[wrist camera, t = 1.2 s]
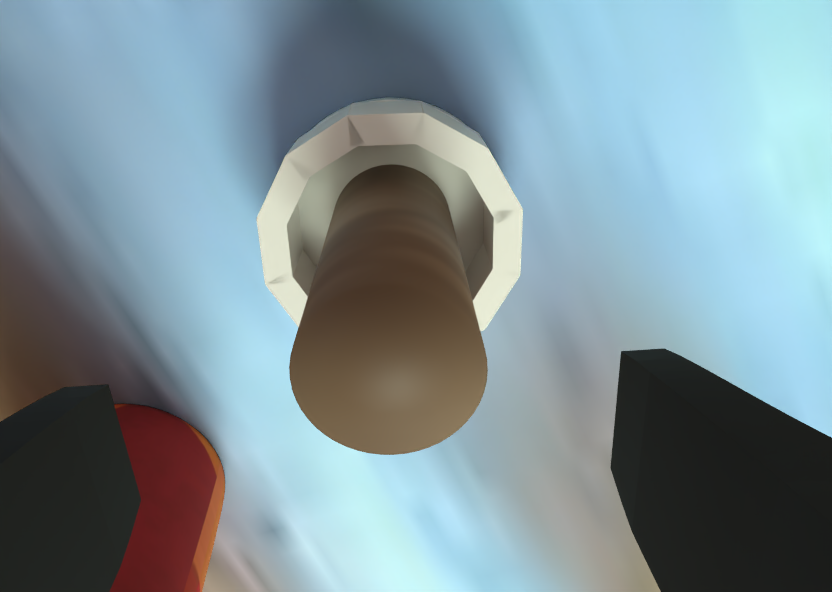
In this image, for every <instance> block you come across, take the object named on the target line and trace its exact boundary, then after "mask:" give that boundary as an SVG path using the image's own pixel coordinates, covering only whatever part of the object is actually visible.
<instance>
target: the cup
mask: <svg viewBox="0 0 832 592" xmlns="http://www.w3.org/2000/svg"><path fill="white" fill-rule="evenodd" d="M388 164H394V165H403V166H407V167H411V168H414V169H416V170H418V171H420V172H422V173H424V174H425V175H427V176H428V177H429V178H430V179H432V180H433V181H434V182H435V183H436V184H437V185H438V187H439V188H440V190H441V191H442V192H443V194H444V196H445V198H446V200H447V203H448V206H449V210H450V214H451V218H452V222H453V226H454V230H455V234H456V238H457V242H458V245H459V249H460V253H461V257H462V261H463V265H464V269H465V273H466V277H467V281H468V285H469V289H470V293H471V297H472V301H473V305H474V309H475V312H476V316H477V320H478V324H479V328H480V332H481V331H483V330H485V329H486V327H487V326H488V324H489V323H490V321H491V320H492V318H493V316H494V315H495V313H496V312H497V310H498V309H499V307H500V306H501V304H502V303H503V301H504V299H505V298H506V296H507V295H508V293H509V292H510V290H511V289H512V287H513V286H514V284H515V283H516V281H517V279H518V278H519V276H520V270H521V245H522V220H523V209H522V207H521V205H520V203H519V201H518V200H517V198H516V196H515V194H514V193H513V191H512V189H511V187H510V186H509V184H508V182H507V180H506V179H505V177H504V175H503V173H502V172H501V170H500V168H499V166H498V164H497V163H496V161H495V159H494V157H493V156H492V154H491V152H490V150H489V149H488V147H487V145H486V144H485V142H484V141H483V139H482V137H481V136H480V134H479V133H478V132H476V131H474V130H473V129H471V128H469V127H468V126H466V125H465V124H464V123H463V122H462V121H461V120H459V119H458V118H456V117H455V116H453V115H451V114H450V113H448V112H447V111H444V110H442V109H440V108H438V107H436V106H434V105H431V104H428V103H425V102H422V101H420V100H419V101H418V100H412V99H406V98H391V97H386V98H376V99H369V100H365V101H361V102H357V103H352V104H350V105H348V106H346V107H344V108H341V109H339V110H338V111H336V112H334V113H332V114H330V115H329V116H327V117H326V118H325V119H323V120H322V121H321V122H319V123H318V124H317V125H315V126H314V127H313V128H312V129H311V130H310V131H309V132H307V133H306V134H304V135H303V136H301V137H300V138H298V139H297V140H296V142H295V143H294V144H293V146H292V147H291V149H290V150H289V151H288V153H287V154H286V156H285V158H284V160H283V162H282V164H281V166H280V168H279V171H278V173H277V175H276V177H275V179H274V182H273V184H272V186H271V188H270V190H269V192H268V195H267V197H266V199H265V201H264V203H263V205H262V208H261V210H260V212H259V214H258V216H257V226H258V234H259V242H260V249H261V257H262V264H263V272H264V279H265V285H266V286H267V287H268V289H269V290H270V291H271V292H272V294H273V295H274V296H275V298H276V299H277V300H278V301H279V303H280V304H281V305H282V307H283V308H284V309H285V310H286V312H287V313H288V314H289V315H290V317H291V318H292V319H293V321H294V322H295V323H296V324H297V326H298V327H299V325H300V321H301V318H302V315H303V311H304V308H305V305H306V301H307V298H308V295H309V291H310V288H311V285H312V282H313V278H314V275H315V272H316V268H317V265H318V262H319V258H320V255H321V252H322V248H323V245H324V242H325V238H326V235H327V232H328V228H329V225H330V222H331V218H332V215H333V212H334V208H335V205H336V202H337V200H338V197H339V195H340V193H341V192H342V190H343V189H344V187H345V186H346V185H347V184H348V183H349V182H350V181H351V180H352V179H353V178H354V177H355V176H357V175H358V174H360V173H361V172H363V171H365V170H367V169H370V168H372V167H376V166H380V165H388Z"/></svg>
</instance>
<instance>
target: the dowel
mask: <svg viewBox="0 0 832 592" xmlns="http://www.w3.org/2000/svg"><path fill="white" fill-rule="evenodd" d="M289 368H290V381H291V386H292V390H293V393H294V396H295V398H296V401H297V403H298V404H299V406H300V408H301V410H302V411H303V413H304V414H305V415H306V417H307V418H308V419H309V421H310V422H311V423H312V424H313V425H314V426H315V427H316V428H317V429H319V430H320V431H321V432H322V433H323V434H325V435H326V436H328V437H329V438H331V439H332V440H334V441H336V442H338V443H340V444H342V445H344V446H346V447H349V448H352V449H355V450H358V451H362V452H367V453H373V454H384V455H394V454H405V453H410V452H415V451H419V450H422V449H425V448H428V447H431V446H433V445H435V444H437V443H440V442H441V441H443V440H445V439H446V438H448V437H450V436H451V435H452V434H454V433H455V432H456V431H457V430H459V429H460V428H461V427H462V426H463V425H464V424H465V423H466V422H467V421H468V419H469V418H470V417H471V416H472V414H473V413H474V412H475V410H476V408H477V406H478V405H479V403H480V401H481V398H482V396H483V393H484V390H485V386H486V382H487V371H488V370H487V357H486V353H485V348H484V344H483V340H482V336H481V332H480V328H479V324H478V320H477V316H476V312H475V309H474V305H473V301H472V297H471V293H470V289H469V285H468V281H467V277H466V273H465V269H464V265H463V261H462V257H461V253H460V249H459V245H458V242H457V238H456V234H455V230H454V226H453V222H452V218H451V214H450V210H449V206H448V203H447V200H446V198H445V196H444V194H443V192H442V191H441V190H440V188H439V187H438V185H437V184H436V183H435V182H434V181H433V180H432V179H430V178H429V177H428V176H427V175H425V174H424V173H422V172H420V171H418V170H416V169H414V168H411V167H407V166H403V165H394V164H388V165H380V166H376V167H372V168H370V169H367V170H365V171H363V172H361V173H360V174H358V175H357V176H355V177H354V178H353V179H352V180H351V181H350V182H349V183H348V184H347V185H346V186H345V187H344V189H343V190H342V192H341V193H340V195H339V197H338V200H337V202H336V205H335V208H334V212H333V215H332V218H331V222H330V225H329V228H328V232H327V235H326V238H325V242H324V245H323V248H322V252H321V255H320V258H319V262H318V265H317V268H316V272H315V275H314V278H313V282H312V285H311V288H310V291H309V295H308V298H307V301H306V305H305V308H304V311H303V315H302V318H301V321H300V325H299V328H298V331H297V335H296V338H295V341H294V345H293V348H292V352H291V357H290V366H289Z"/></svg>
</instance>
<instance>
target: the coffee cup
mask: <svg viewBox="0 0 832 592" xmlns="http://www.w3.org/2000/svg"><path fill="white" fill-rule="evenodd" d="M114 406H115V410H116V413H117V417H118V420H119V424H120V427H121V431H122V434H123V438H124V441H125V445H126V448H127V452H128V455H129V458H130V462H131V465H132V469H133V472H134V476H135V479H136V483H137V486H138V490H139V493H140V497H141V503H140V506H139V509H138V513H137V516H136V520H135V523H134V527H133V530H132V533H131V537H130V540H129V543H128V546H127V549H126V552H125V555H124V558H123V561H122V564H121V567H120V569H119V571H118V574H117V576H116V578H115V580H114V583H113V585H112V587H111V589H110V591H109V592H202V589H203V585H204V581H205V577H206V573H207V569H208V565H209V561H210V557H211V553H212V549H213V545H214V541H215V537H216V532H217V528H218V524H219V519H220V515H221V511H222V505H223V500H224V493H225V475H224V470H223V467H222V464H221V461H220V459H219V457H218V455H217V453H216V451H215V450H214V448H213V447H212V445H211V444H210V443H209V442H208V440H207V439H206V438H205V437H204V436H203V435H202V434H201V433H200V432H199V431H198V430H196V429H195V428H194V427H193V426H191V425H190V424H188V423H187V422H185V421H184V420H182V419H180V418H178V417H176V416H174V415H172V414H170V413H168V412H165V411H162V410H159V409H156V408H152V407H148V406H143V405H136V404H114Z"/></svg>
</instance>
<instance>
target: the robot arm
mask: <svg viewBox="0 0 832 592" xmlns="http://www.w3.org/2000/svg"><path fill="white" fill-rule="evenodd" d="M611 471H612V474H613V477H614V480H615V483H616V486H617V489H618V492H619V495H620V499H621V502H622V505H623V507H624V510H625V513H626V516H627V519H628V522H629V524H630V527H631V530H632V533H633V535H634V537H635V539H636V541H637V543H638V545H639V547H640V549H641V552H642V554H643V556H644V558H645V560H646V562H647V564H648V566H649V568H650V570H651V572H652V574H653V576H654V578H655V580H656V582H657V584H658V587H659V589H660V591H661V592H832V438H831V437H829V436H827V435H825V434H823V433H821V432H819V431H818V430H816V429H814V428H812V427H810V426H808V425H806V424H804V423H802V422H800V421H798V420H797V419H795V418H793V417H791V416H789V415H787V414H785V413H784V412H782V411H780V410H778V409H776V408H774V407H773V406H771V405H769V404H767V403H765V402H763V401H762V400H760V399H758V398H756V397H754V396H753V395H751V394H749V393H747V392H745V391H744V390H742V389H740V388H738V387H737V386H735V385H733V384H731V383H729V382H728V381H726V380H724V379H722V378H720V377H719V376H717V375H715V374H713V373H711V372H710V371H708V370H706V369H704V368H702V367H701V366H699V365H697V364H695V363H693V362H691V361H689V360H687V359H685V358H684V357H682V356H680V355H677V354H675V353H673V352H671V351H669V350H666V349H650V350H635V351H621V359H620V371H619V382H618V393H617V404H616V415H615V426H614V437H613V448H612V459H611ZM140 503H141V497H140V493H139V490H138V486H137V483H136V479H135V476H134V472H133V469H132V465H131V462H130V458H129V455H128V452H127V448H126V445H125V441H124V438H123V434H122V431H121V427H120V424H119V420H118V417H117V413H116V410H115V406H114V403H113V399H112V396H111V392H110V389H109V385H93V386H78V387H64V388H62V389H60V390H58V391H56V392H53V393H51V394H49V395H47V396H45V397H43V398H41V399H40V400H38V401H36V402H34V403H32V404H30V405H29V406H27V407H25V408H23V409H22V410H20V411H18V412H16V413H15V414H13V415H11V416H10V417H8V418H6V419H4V420H3V421H1V422H0V592H109V591H110V589H111V587H112V585H113V583H114V580H115V578H116V576H117V574H118V571H119V569H120V567H121V564H122V561H123V558H124V555H125V552H126V549H127V546H128V543H129V540H130V537H131V533H132V530H133V527H134V523H135V520H136V516H137V513H138V509H139V506H140Z"/></svg>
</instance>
